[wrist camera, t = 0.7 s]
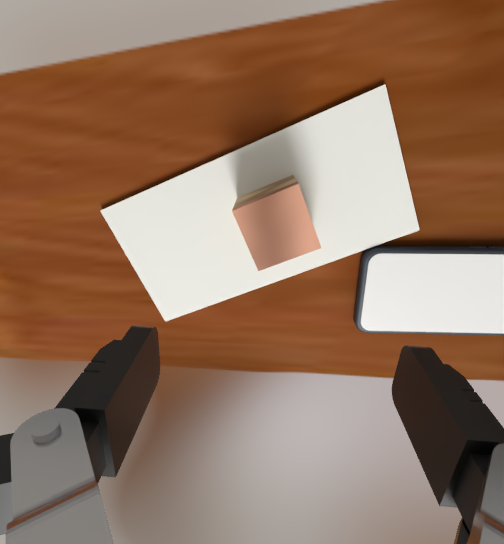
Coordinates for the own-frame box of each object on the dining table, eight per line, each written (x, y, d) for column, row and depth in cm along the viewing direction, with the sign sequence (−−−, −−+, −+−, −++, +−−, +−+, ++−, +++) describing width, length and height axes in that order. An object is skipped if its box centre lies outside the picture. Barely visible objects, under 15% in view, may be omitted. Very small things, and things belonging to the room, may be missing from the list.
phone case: (350, 325, 34) (514, 329, 33) (354, 334, 33) (525, 338, 32) (360, 242, 31) (543, 243, 30) (365, 248, 29) (557, 249, 29)
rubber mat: (383, 84, 25) (385, 84, 25) (417, 228, 30) (419, 230, 29) (102, 209, 30) (100, 210, 29) (166, 319, 34) (165, 321, 34)
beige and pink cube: (292, 174, 28) (298, 183, 23) (312, 229, 29) (321, 248, 25) (237, 197, 29) (231, 211, 24) (259, 249, 30) (258, 271, 26)
